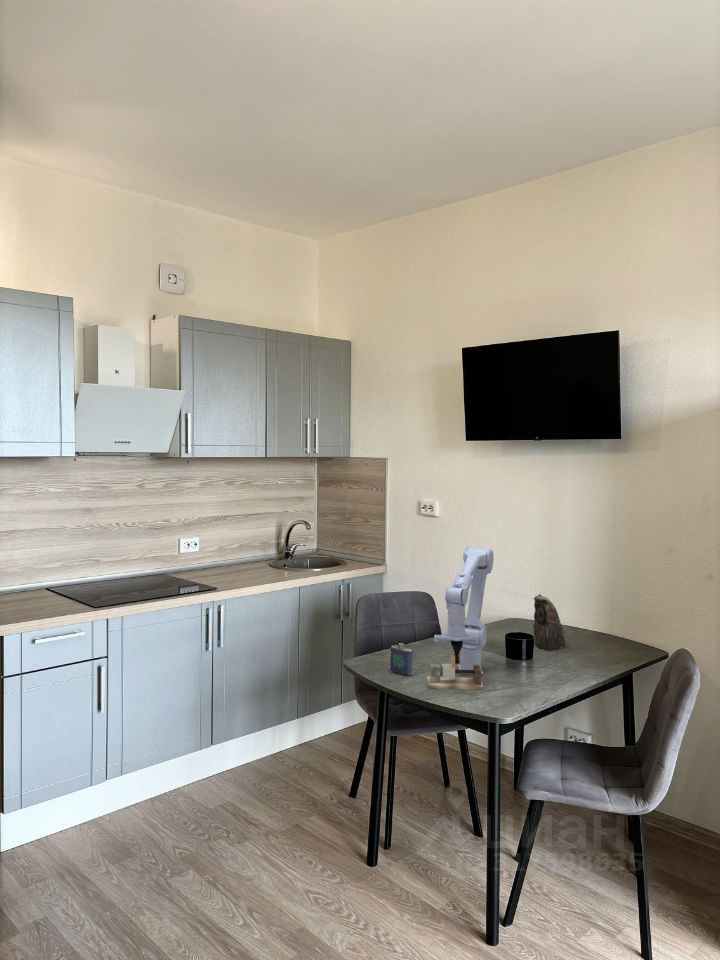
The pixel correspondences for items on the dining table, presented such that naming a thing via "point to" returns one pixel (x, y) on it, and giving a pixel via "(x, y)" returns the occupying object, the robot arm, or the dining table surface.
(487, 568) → the robot arm
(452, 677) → the sleeve
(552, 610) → the owl
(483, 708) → the dining table surface
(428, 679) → the board
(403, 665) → the flask
